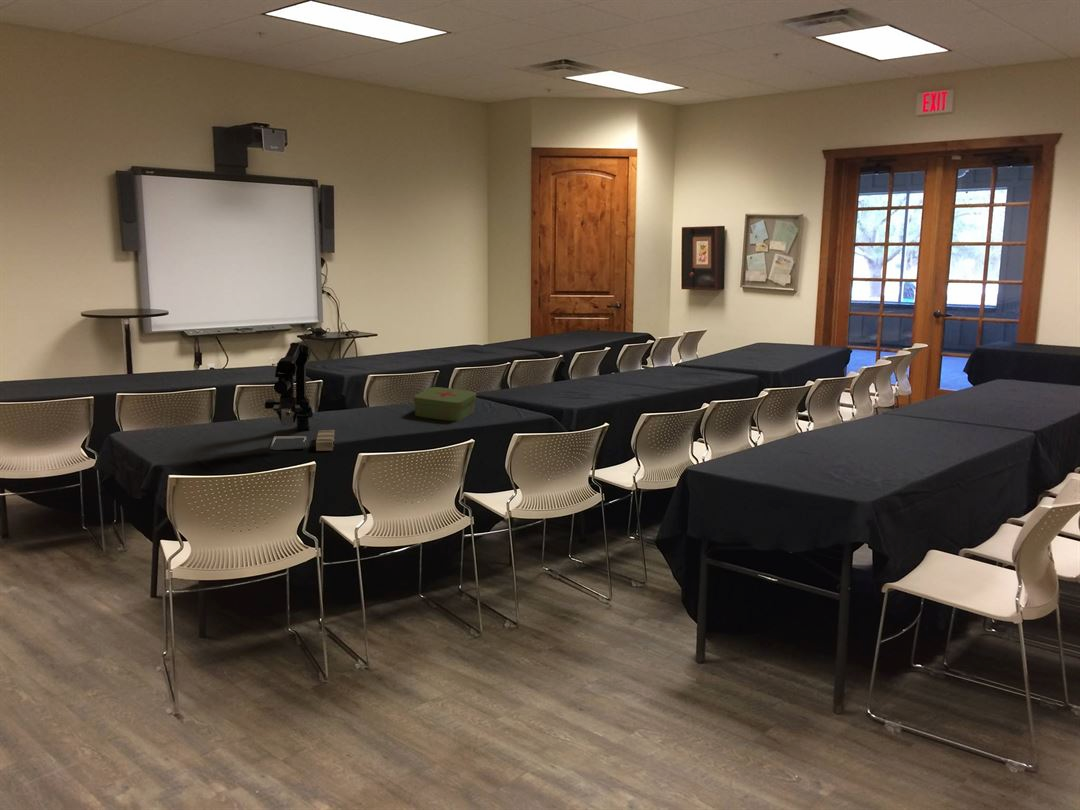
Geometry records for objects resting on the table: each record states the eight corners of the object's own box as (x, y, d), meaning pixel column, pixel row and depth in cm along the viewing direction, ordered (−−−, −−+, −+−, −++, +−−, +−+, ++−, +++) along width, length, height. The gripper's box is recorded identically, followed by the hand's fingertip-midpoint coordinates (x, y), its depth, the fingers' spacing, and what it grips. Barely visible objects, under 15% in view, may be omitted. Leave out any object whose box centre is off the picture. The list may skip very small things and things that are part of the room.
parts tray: (274, 439, 398) (274, 436, 398) (306, 439, 401) (306, 436, 400) (270, 450, 383) (270, 447, 383) (303, 450, 385) (303, 446, 385)
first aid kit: (410, 416, 447) (410, 397, 445) (432, 404, 471) (433, 386, 469) (458, 422, 439) (458, 403, 437) (478, 410, 463) (478, 391, 461)
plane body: (318, 438, 403) (318, 430, 402) (334, 438, 404) (334, 430, 403) (316, 450, 386) (315, 441, 384) (332, 450, 387) (332, 441, 386)
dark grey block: (283, 421, 392) (282, 410, 391) (294, 421, 393) (294, 410, 392) (281, 426, 386) (281, 414, 384) (293, 426, 387) (292, 414, 385)
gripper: (262, 393, 376) (263, 428, 380) (307, 393, 379) (308, 427, 383) (265, 386, 387) (267, 420, 391) (309, 386, 390) (310, 420, 394)
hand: (288, 422), depth 389 cm, fingers closed on dark grey block, 5 cm apart
